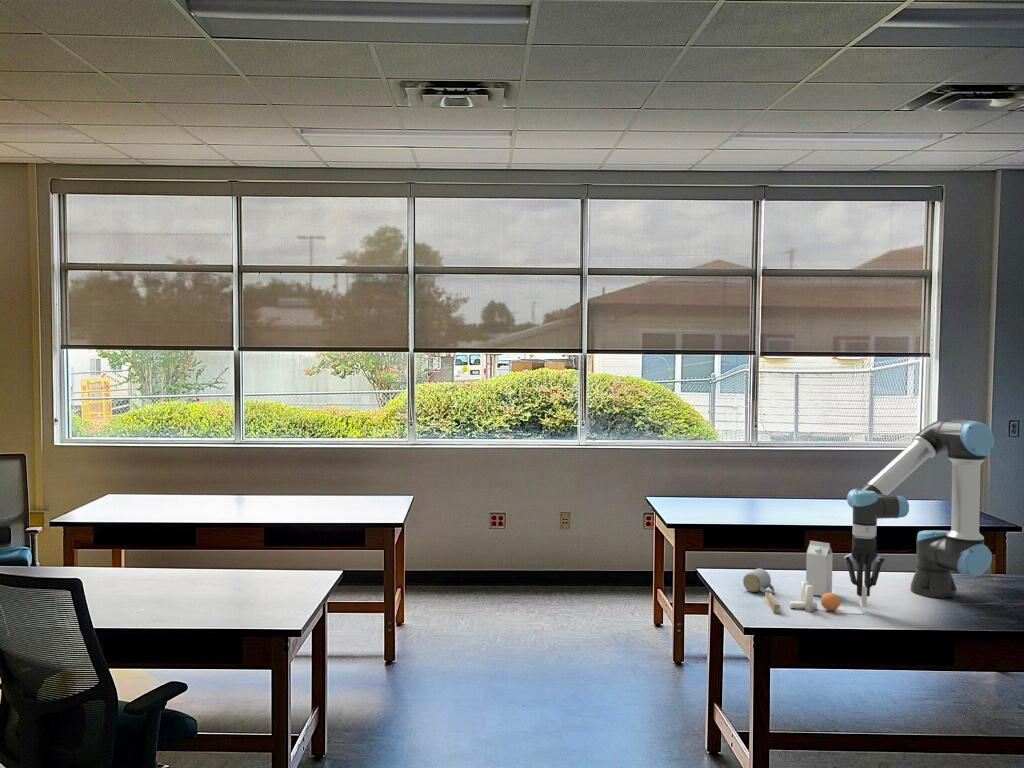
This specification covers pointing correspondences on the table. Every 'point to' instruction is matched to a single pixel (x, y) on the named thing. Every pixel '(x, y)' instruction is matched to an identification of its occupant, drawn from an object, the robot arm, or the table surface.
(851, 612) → the white square tile
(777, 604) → the bar
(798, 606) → the pin front
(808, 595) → the pin
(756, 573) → the ceramic mug
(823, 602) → the ball
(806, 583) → the pin
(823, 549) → the milk carton
